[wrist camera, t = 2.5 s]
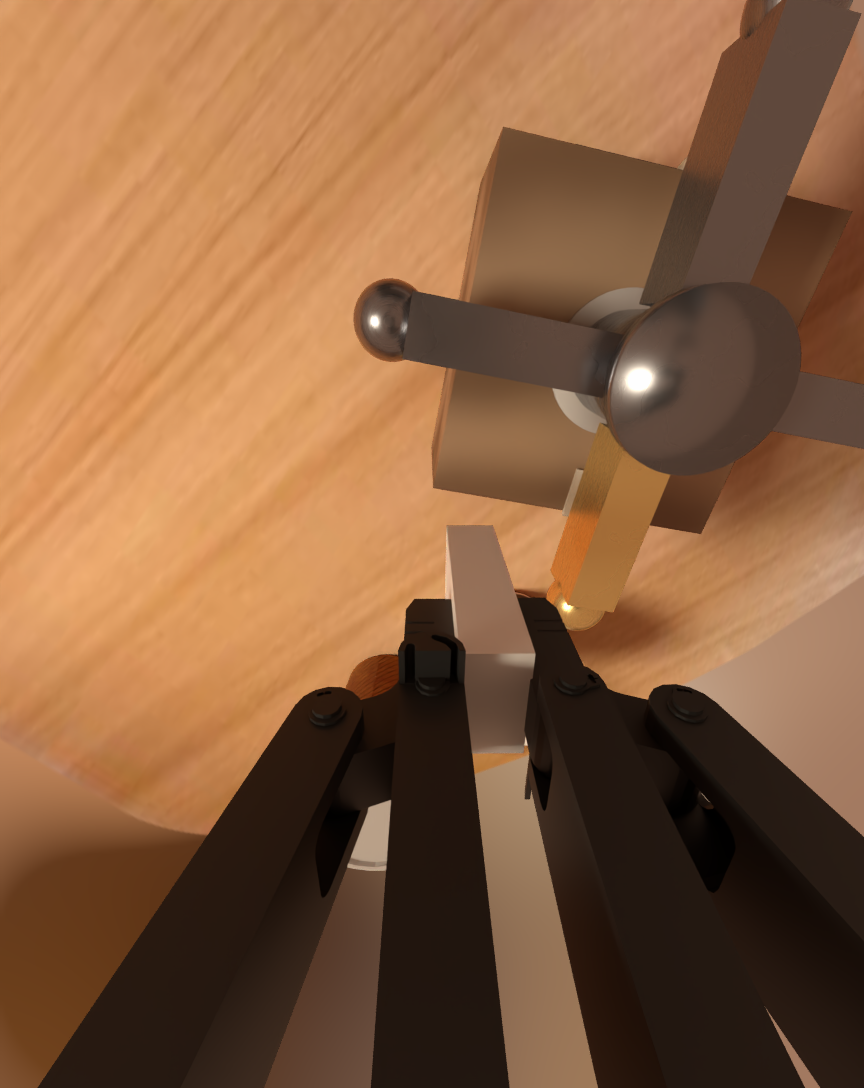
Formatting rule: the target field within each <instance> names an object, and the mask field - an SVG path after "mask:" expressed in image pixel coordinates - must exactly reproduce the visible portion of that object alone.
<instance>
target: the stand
mask: <svg viewBox="0 0 864 1088" xmlns="http://www.w3.org/2000/svg"><path fill="white" fill-rule="evenodd" d="M686 160H687V158H685V159H684V160H683V161H682V162H681V164H680V165H679V166H678V168H677V169H676V168H672V167H668V166H664V165H660V164H656V163H652V162H648V161H644V160H639V159H635V158H631V157H627V156H623V155H619V154H615V153H611V152H606V151H602V150H598V149H594V148H590V147H586V146H582V145H578V144H572V143H568V142H564V141H560V140H556V139H552V138H548V137H543V136H539V135H535V134H531V133H527V132H523V131H519V130H515V129H510V128H506V127H503V129H502V131H501V134H500V136H499V139H498V141H497V144H496V146H495V149H494V151H493V154H492V156H491V158H490V161H489V163H488V166H487V168H486V171H485V173H484V176H483V178H482V181H481V184H480V189H479V195H478V200H477V205H476V211H475V216H474V221H473V227H472V232H471V238H470V243H469V248H468V254H467V259H466V265H465V270H464V275H463V281H462V286H461V292H460V297H459V300H460V301H465V302H469V303H474V304H479V305H484V306H489V307H493V308H498V309H503V310H508V311H513V312H517V313H522V314H527V315H532V316H537V317H541V318H546V319H551V320H556V321H561V322H565V323H570V324H575V325H580V326H585V327H591V326H592V325H593V324H594V323H596V322H597V321H598V320H600V319H601V318H603V317H605V316H606V315H609V314H611V313H613V312H617V311H620V310H627V309H649V308H650V306H645V305H641V304H639V302H640V299H641V296H642V293H643V290H644V287H645V284H646V281H647V278H648V275H649V272H650V269H651V266H652V263H653V260H654V257H655V254H656V251H657V248H658V245H659V242H660V239H661V236H662V233H663V230H664V227H665V224H666V221H667V218H668V215H669V212H670V209H671V206H672V203H673V200H674V197H675V194H676V191H677V188H678V185H679V182H680V179H681V175H682V172H683V169H684V166H685V163H686ZM851 213H852V211H848V210H844V209H840V208H836V207H832V206H828V205H823V204H819V203H815V202H811V201H807V200H803V199H799V198H795V197H791V196H786V197H785V200H784V202H783V204H782V207H781V209H780V212H779V214H778V217H777V219H776V221H775V224H774V226H773V229H772V231H771V233H770V236H769V238H768V241H767V243H766V246H765V248H764V250H763V253H762V255H761V258H760V260H759V262H758V265H757V267H756V270H755V272H754V274H753V277H752V279H751V282H750V285H753V286H756V287H759V288H761V289H763V290H765V291H767V292H769V293H770V294H772V295H773V296H774V297H776V298H777V299H778V300H779V301H780V302H781V303H782V304H783V305H784V306H785V307H786V309H787V310H788V312H789V313H790V315H791V316H792V318H793V320H794V323H795V325H796V328H798V326H799V324H800V322H801V320H802V318H803V316H804V313H805V311H806V309H807V307H808V305H809V303H810V301H811V298H812V296H813V294H814V292H815V290H816V288H817V286H818V284H819V281H820V279H821V277H822V275H823V273H824V271H825V269H826V267H827V264H828V262H829V260H830V258H831V256H832V254H833V252H834V249H835V247H836V245H837V243H838V241H839V239H840V237H841V235H842V232H843V230H844V228H845V226H846V224H847V222H848V220H849V217H850V215H851ZM599 423H604V424H607V422H606V420H605V419H603V418H601V417H599V416H598V415H596V414H594V413H593V412H591V411H589V410H588V409H587V408H585V407H584V406H583V405H582V404H581V402H580V401H579V400H578V398H577V397H576V395H575V392H569V391H564V390H559V389H554V388H549V387H544V386H539V385H534V384H528V383H523V382H518V381H513V380H508V379H503V378H498V377H493V376H487V375H482V374H477V373H472V372H467V371H462V370H457V369H451V368H446V372H445V378H444V383H443V389H442V394H441V399H440V405H439V410H438V416H437V421H436V426H435V432H434V437H433V443H432V470H433V488H436V489H442V490H448V491H454V492H459V493H465V494H471V495H477V496H483V497H489V498H494V499H500V500H506V501H512V502H518V503H523V504H529V505H535V506H541V507H547V508H553V509H558V510H563V511H562V515H563V516H569V513H570V510H571V507H572V504H573V501H574V498H575V495H576V492H577V489H578V486H579V483H580V480H581V477H582V474H583V471H584V468H585V465H586V462H587V459H588V456H589V453H590V450H591V447H592V444H593V441H594V438H595V435H596V432H597V429H598V426H599ZM734 463H735V462H733V463H731V464H729V465H727V466H725V467H722V468H719V469H717V470H714V471H711V472H707V473H703V474H697V475H689V476H678V475H670V477H669V480H668V482H667V484H666V487H665V489H664V492H663V494H662V496H661V499H660V501H659V504H658V506H657V509H656V511H655V513H654V516H653V518H652V521H651V523H650V525H651V526H657V527H663V528H669V529H675V530H680V531H686V532H692V533H698V534H701V533H702V531H703V529H704V527H705V524H706V522H707V520H708V518H709V516H710V514H711V512H712V509H713V507H714V505H715V503H716V501H717V499H718V497H719V495H720V492H721V490H722V488H723V486H724V484H725V482H726V480H727V478H728V475H729V473H730V471H731V469H732V467H733V465H734Z"/></svg>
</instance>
